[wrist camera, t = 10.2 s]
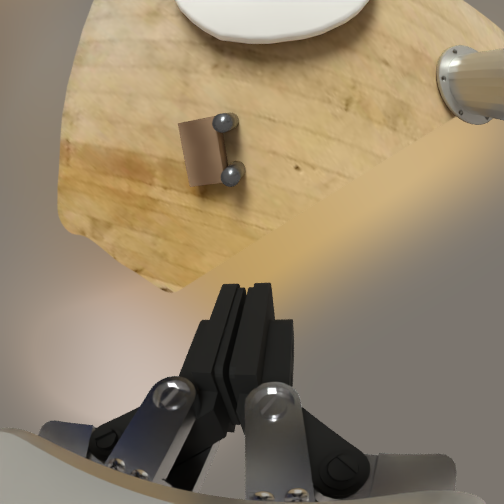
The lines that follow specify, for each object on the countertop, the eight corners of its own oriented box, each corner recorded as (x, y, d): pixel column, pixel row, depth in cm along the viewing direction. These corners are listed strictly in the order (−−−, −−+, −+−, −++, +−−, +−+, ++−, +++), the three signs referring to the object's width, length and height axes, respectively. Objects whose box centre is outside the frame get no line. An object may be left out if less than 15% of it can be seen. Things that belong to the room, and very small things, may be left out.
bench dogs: (237, 111, 36) (230, 112, 32) (246, 176, 40) (240, 185, 36) (220, 114, 36) (210, 115, 32) (229, 178, 41) (222, 187, 36)
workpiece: (220, 115, 37) (214, 116, 34) (230, 176, 41) (224, 182, 38) (186, 121, 38) (177, 123, 35) (197, 180, 42) (190, 186, 39)
